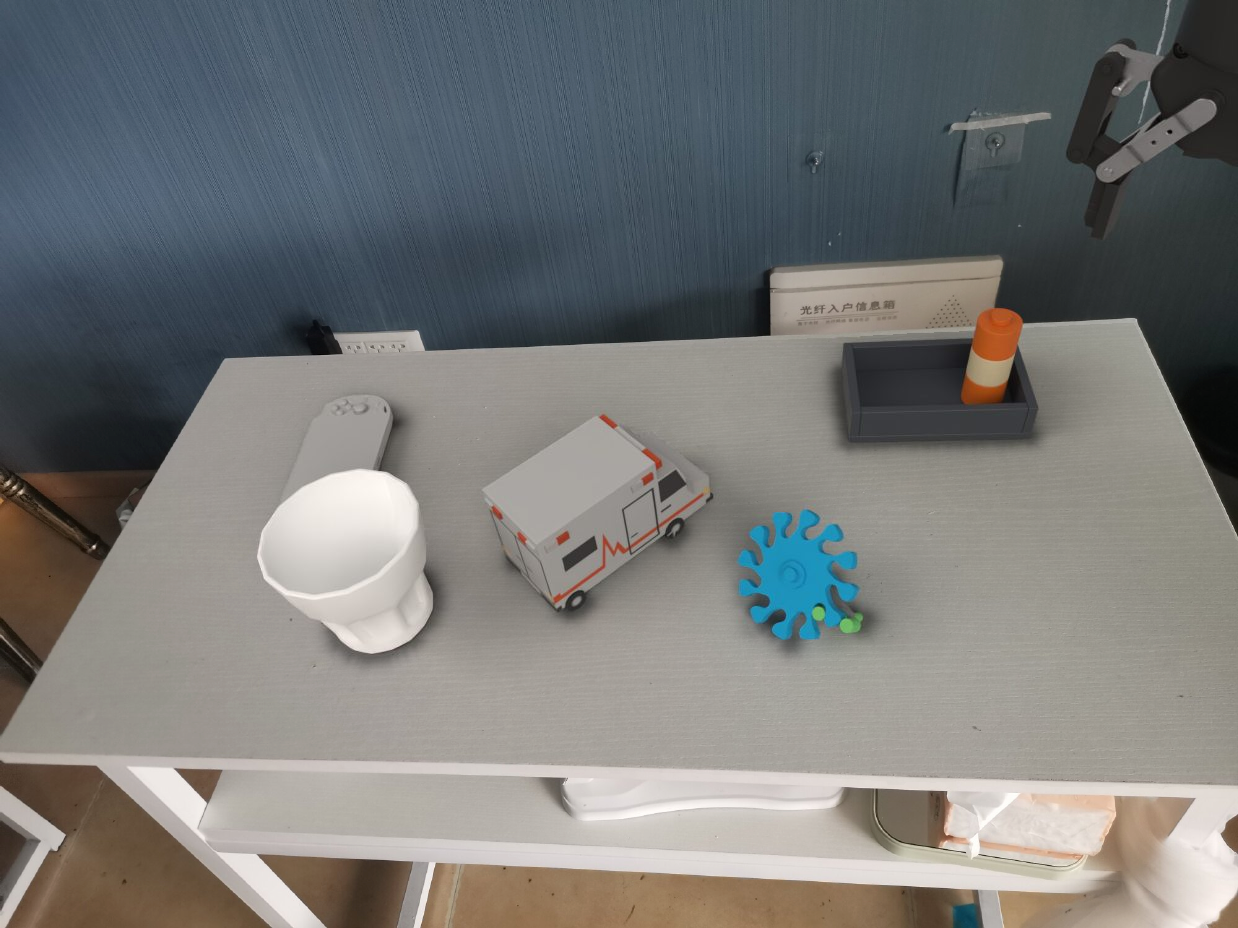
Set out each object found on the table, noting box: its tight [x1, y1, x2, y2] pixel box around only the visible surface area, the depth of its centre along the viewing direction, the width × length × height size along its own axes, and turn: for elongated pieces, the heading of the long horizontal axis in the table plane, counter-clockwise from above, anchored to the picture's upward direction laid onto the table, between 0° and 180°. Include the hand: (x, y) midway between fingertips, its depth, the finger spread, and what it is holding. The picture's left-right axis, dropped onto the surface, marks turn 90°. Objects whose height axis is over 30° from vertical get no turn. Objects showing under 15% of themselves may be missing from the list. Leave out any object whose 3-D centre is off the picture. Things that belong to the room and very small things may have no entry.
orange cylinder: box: [961, 307, 1024, 404], centre depth 78 cm, size 4×4×10 cm
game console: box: [276, 394, 394, 509], centre depth 86 cm, size 18×2×8 cm
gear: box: [737, 509, 864, 641], centre depth 69 cm, size 11×6×10 cm
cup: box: [256, 469, 434, 655], centre depth 71 cm, size 12×12×11 cm
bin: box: [840, 337, 1040, 443], centre depth 82 cm, size 16×10×4 cm, turn 85°
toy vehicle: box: [481, 413, 714, 613], centre depth 73 cm, size 10×17×10 cm, turn 129°
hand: (1181, 254), depth 50 cm, fingers open, 8 cm apart
